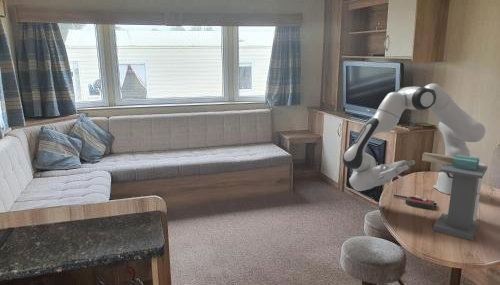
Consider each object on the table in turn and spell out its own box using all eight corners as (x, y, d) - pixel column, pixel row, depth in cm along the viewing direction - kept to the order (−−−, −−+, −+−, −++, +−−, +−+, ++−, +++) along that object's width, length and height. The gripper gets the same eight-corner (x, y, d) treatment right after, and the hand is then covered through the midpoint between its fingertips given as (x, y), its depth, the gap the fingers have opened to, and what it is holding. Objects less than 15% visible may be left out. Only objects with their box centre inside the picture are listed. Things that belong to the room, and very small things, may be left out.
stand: (441, 217, 165) (449, 160, 160) (478, 226, 157) (487, 166, 151) (433, 230, 153) (440, 169, 147) (472, 240, 145) (482, 176, 139)
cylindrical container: (469, 223, 160) (477, 166, 154) (453, 216, 166) (461, 162, 161) (479, 220, 163) (488, 164, 158) (463, 214, 169) (471, 160, 164)
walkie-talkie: (437, 205, 180) (393, 197, 191) (438, 196, 179) (394, 188, 190) (435, 211, 173) (389, 202, 183) (436, 202, 172) (390, 194, 182)
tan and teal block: (425, 157, 164) (426, 150, 163) (478, 166, 152) (479, 157, 151) (420, 161, 157) (421, 153, 157) (475, 170, 145) (476, 162, 145)
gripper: (371, 173, 165) (400, 162, 156) (386, 163, 181) (414, 153, 172) (377, 186, 164) (407, 177, 156) (392, 175, 180) (420, 165, 171)
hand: (411, 164), depth 164 cm, fingers open, 8 cm apart
